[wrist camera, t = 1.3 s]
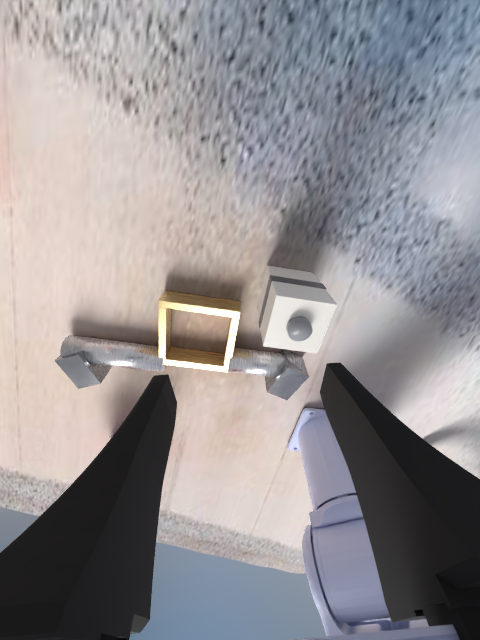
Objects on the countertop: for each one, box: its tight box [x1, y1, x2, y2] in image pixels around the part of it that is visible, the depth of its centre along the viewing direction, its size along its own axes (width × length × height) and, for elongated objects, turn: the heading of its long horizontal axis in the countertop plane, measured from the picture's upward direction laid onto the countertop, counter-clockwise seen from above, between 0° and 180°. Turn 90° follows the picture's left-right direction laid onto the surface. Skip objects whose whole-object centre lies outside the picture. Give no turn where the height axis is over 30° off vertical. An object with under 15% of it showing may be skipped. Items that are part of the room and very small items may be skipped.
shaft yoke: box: [55, 291, 309, 400], centre depth 23 cm, size 23×10×3 cm, turn 81°
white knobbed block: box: [257, 265, 337, 353], centre depth 19 cm, size 4×4×7 cm
